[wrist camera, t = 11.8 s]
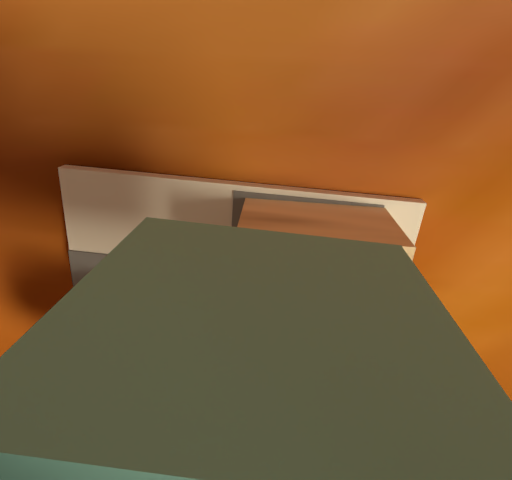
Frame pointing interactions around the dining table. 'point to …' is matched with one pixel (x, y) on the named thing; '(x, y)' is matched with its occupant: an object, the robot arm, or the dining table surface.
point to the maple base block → (325, 221)
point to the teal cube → (250, 367)
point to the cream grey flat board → (181, 206)
